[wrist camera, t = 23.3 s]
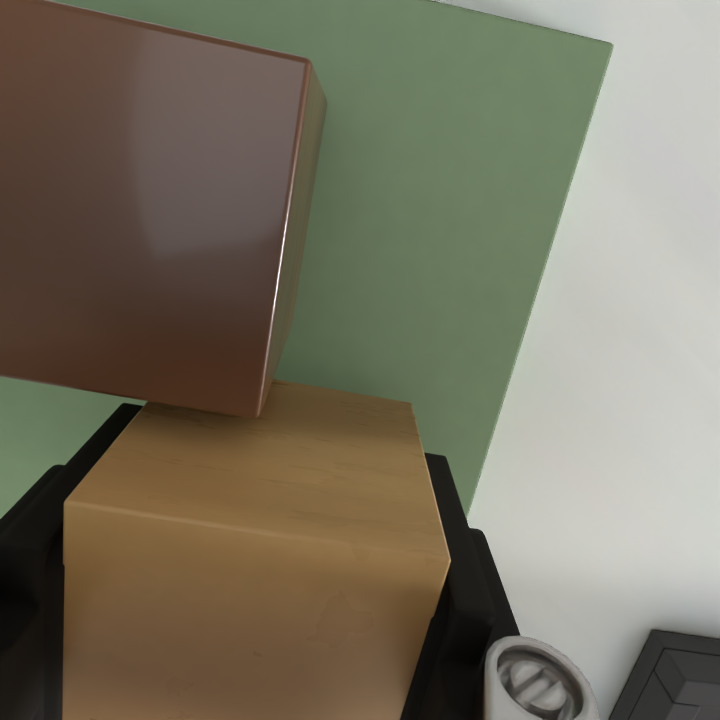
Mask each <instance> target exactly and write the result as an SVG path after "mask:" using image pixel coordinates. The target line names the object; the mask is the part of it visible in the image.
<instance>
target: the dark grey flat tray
mask: <svg viewBox="0 0 720 720" xmlns="http://www.w3.org/2000/svg"><path fill="white" fill-rule="evenodd" d="M609 720H720V640H718V639H711V638H704V637H697V636H690V635H683V634H676V633H670V632H663V631H656V630H653V631H652V633H651V635H650V637H649V639H648V641H647V643H646V645H645V647H644V649H643V651H642V653H641V655H640V658H639V660H638V662H637V664H636V666H635V668H634V670H633V672H632V674H631V676H630V678H629V680H628V682H627V684H626V686H625V688H624V690H623V692H622V695H621V697H620V699H619V701H618V703H617V705H616V707H615V709H614V711H613V713H612V715H611V717H610V719H609Z"/></svg>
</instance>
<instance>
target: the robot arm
mask: <svg viewBox="0 0 720 720" xmlns="http://www.w3.org/2000/svg"><path fill="white" fill-rule="evenodd" d="M142 407H143V406H141V405H135V404H129V403H122V404H121V405H120V406H119V407H118V408H117V409H116V410H115V411H114V413H113V414H112V415H111V416H110V417H109V418H108V419H107V420H106V421H105V422H104V423H103V424H102V426H101V427H100V428H99V429H98V430H97V431H96V432H95V433H94V434H93V435H92V436H91V437H90V439H89V440H88V441H87V442H86V443H85V444H84V445H83V446H82V447H81V448H80V449H79V450H78V452H77V453H76V454H75V455H74V456H73V457H72V458H71V459H70V460H69V461H68V462H67V463H66V464H65V465H60V464H58V465H54V466H52V467H51V468H50V469H48V470H47V471H46V472H45V473H44V474H43V476H42V477H41V478H40V479H39V480H38V481H37V482H36V483H35V484H34V485H33V486H32V487H31V488H30V489H29V490H28V491H27V492H26V493H25V494H24V495H23V496H22V497H21V498H20V499H19V500H18V501H17V502H16V504H15V505H14V506H13V507H12V508H11V509H10V510H9V511H8V512H7V513H6V514H5V515H4V516H3V517H2V518H1V519H0V720H62V693H63V637H64V581H65V566H64V564H63V518H64V502H65V500H66V499H67V498H68V496H69V495H70V494H71V493H72V492H73V490H74V489H75V488H76V487H77V486H78V484H79V483H80V482H81V481H82V480H83V478H84V477H85V476H86V475H87V474H88V472H89V471H90V470H91V469H92V467H93V466H94V465H95V464H96V463H97V461H98V460H99V459H100V458H101V457H102V455H103V454H104V453H105V452H106V451H107V449H108V448H109V447H110V446H111V445H112V443H113V442H114V441H115V440H116V439H117V437H118V436H119V435H120V434H121V433H122V431H123V430H124V429H125V428H126V426H127V425H128V424H129V423H130V422H131V420H132V419H133V418H134V417H135V416H136V414H137V413H138V412H139V411H140V410H141V408H142ZM424 455H425V459H426V463H427V467H428V471H429V475H430V479H431V483H432V486H433V490H434V494H435V498H436V502H437V506H438V510H439V514H440V518H441V522H442V526H443V530H444V534H445V538H446V542H447V546H448V550H449V554H450V558H451V562H450V566H449V569H448V572H447V575H446V579H445V582H444V585H443V588H442V592H441V595H440V598H439V601H438V604H437V608H436V611H435V614H434V616H433V617H432V618H431V620H430V623H429V627H428V630H427V633H426V636H425V640H424V643H423V646H422V649H421V653H420V656H419V659H418V662H417V666H416V669H415V672H414V675H413V679H412V682H411V685H410V688H409V692H408V695H407V698H406V701H405V705H404V708H403V711H402V714H401V718H400V720H600V718H599V713H598V709H597V704H596V700H595V697H594V694H593V692H592V689H591V686H590V684H589V682H588V681H587V679H586V678H585V676H584V675H583V674H582V672H581V671H580V669H579V668H578V667H577V666H576V665H575V664H574V663H573V662H572V661H571V660H570V659H569V658H568V657H567V656H565V655H564V654H562V653H561V652H559V651H558V650H556V649H555V648H553V647H552V646H550V645H548V644H546V643H543V642H541V641H539V640H536V639H533V638H528V637H523V636H520V633H519V630H518V627H517V624H516V622H515V619H514V616H513V613H512V610H511V608H510V605H509V602H508V599H507V596H506V594H505V591H504V588H503V585H502V582H501V580H500V577H499V574H498V571H497V568H496V566H495V563H494V560H493V557H492V554H491V552H490V549H489V546H488V543H487V540H486V538H485V535H484V534H483V532H482V531H481V530H479V529H473V528H469V526H468V523H467V520H466V517H465V514H464V511H463V508H462V505H461V501H460V498H459V495H458V492H457V489H456V486H455V483H454V480H453V477H452V473H451V470H450V467H449V464H448V461H447V458H446V456H443V455H437V454H431V453H425V452H424Z"/></svg>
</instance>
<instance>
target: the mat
mask: <svg viewBox="0 0 720 720" xmlns="http://www.w3.org/2000/svg"><path fill="white" fill-rule="evenodd" d="M51 1H56V2H60V3H65V4H69V5H74V6H78V7H83V8H88V9H92V10H97V11H101V12H106V13H110V14H115V15H119V16H124V17H128V18H133V19H137V20H142V21H146V22H151V23H155V24H160V25H164V26H169V27H173V28H178V29H182V30H187V31H191V32H196V33H200V34H205V35H209V36H214V37H218V38H223V39H227V40H232V41H236V42H241V43H245V44H250V45H254V46H259V47H263V48H268V49H273V50H277V51H282V52H286V53H291V54H295V55H300V56H304V57H307V58H308V59H309V60H311V62H312V64H313V67H314V69H315V72H316V74H317V77H318V79H319V82H320V84H321V87H322V89H323V92H324V94H325V96H326V99H327V108H326V115H325V121H324V127H323V133H322V140H321V146H320V152H319V159H318V165H317V171H316V177H315V184H314V190H313V196H312V202H311V209H310V215H309V221H308V227H307V234H306V240H305V246H304V252H303V259H302V265H301V271H300V277H299V284H298V290H297V296H296V302H295V309H294V315H293V321H292V326H291V329H290V332H289V334H288V337H287V340H286V343H285V346H284V349H283V352H282V355H281V358H280V360H279V363H278V366H277V369H276V372H275V375H274V378H273V379H276V380H282V381H288V382H294V383H300V384H305V385H311V386H317V387H323V388H328V389H334V390H340V391H346V392H351V393H357V394H363V395H369V396H375V397H380V398H386V399H392V400H398V401H403V402H409V403H411V404H412V407H413V411H414V415H415V419H416V423H417V427H418V431H419V435H420V439H421V443H422V447H423V451H424V452H425V453H431V454H437V455H443V456H446V458H447V461H448V464H449V467H450V470H451V473H452V477H453V480H454V483H455V486H456V489H457V492H458V495H459V498H460V501H461V505H462V508H463V511H464V514H465V517H466V520H467V516H468V513H469V510H470V507H471V504H472V500H473V497H474V494H475V491H476V488H477V484H478V481H479V478H480V475H481V471H482V468H483V465H484V462H485V459H486V455H487V452H488V449H489V446H490V442H491V439H492V436H493V433H494V430H495V426H496V423H497V420H498V417H499V414H500V410H501V407H502V404H503V401H504V397H505V394H506V391H507V388H508V385H509V381H510V378H511V375H512V372H513V369H514V365H515V362H516V359H517V356H518V352H519V349H520V346H521V343H522V340H523V336H524V333H525V330H526V327H527V324H528V320H529V317H530V314H531V311H532V307H533V304H534V301H535V298H536V295H537V291H538V288H539V285H540V282H541V279H542V275H543V272H544V269H545V266H546V262H547V259H548V256H549V253H550V250H551V246H552V243H553V240H554V237H555V234H556V230H557V227H558V224H559V221H560V217H561V214H562V211H563V208H564V205H565V201H566V198H567V195H568V192H569V188H570V185H571V182H572V179H573V176H574V172H575V169H576V166H577V163H578V160H579V156H580V153H581V150H582V147H583V143H584V140H585V137H586V134H587V131H588V127H589V124H590V121H591V118H592V115H593V111H594V108H595V105H596V102H597V98H598V95H599V92H600V89H601V86H602V82H603V79H604V76H605V73H606V70H607V66H608V63H609V60H610V57H611V53H612V50H613V44H612V43H609V42H605V41H601V40H597V39H592V38H588V37H584V36H580V35H575V34H571V33H567V32H563V31H558V30H554V29H550V28H546V27H541V26H537V25H533V24H529V23H524V22H520V21H516V20H512V19H507V18H503V17H499V16H495V15H490V14H486V13H482V12H478V11H473V10H469V9H465V8H461V7H456V6H452V5H448V4H444V3H439V2H435V1H431V0H51ZM146 402H147V401H144V400H138V399H132V398H126V397H120V396H114V395H108V394H102V393H96V392H90V391H84V390H78V389H72V388H66V387H60V386H54V385H48V384H42V383H36V382H30V381H24V380H18V379H12V378H6V377H0V519H1V518H2V517H3V516H4V515H5V514H6V513H7V512H8V511H9V510H10V509H11V508H12V507H13V506H14V505H15V504H16V502H17V501H18V500H19V499H20V498H21V497H22V496H23V495H24V494H25V493H26V492H27V491H28V490H29V489H30V488H31V487H32V486H33V485H34V484H35V483H36V482H37V481H38V480H39V479H40V478H41V477H42V476H43V474H44V473H45V472H46V471H47V470H48V469H50V468H51V467H52V466H54V465H58V464H60V465H65V464H66V463H67V462H68V461H69V460H70V459H71V458H72V457H73V456H74V455H75V454H76V453H77V452H78V450H79V449H80V448H81V447H82V446H83V445H84V444H85V443H86V442H87V441H88V440H89V439H90V437H91V436H92V435H93V434H94V433H95V432H96V431H97V430H98V429H99V428H100V427H101V426H102V424H103V423H104V422H105V421H106V420H107V419H108V418H109V417H110V416H111V415H112V414H113V413H114V411H115V410H116V409H117V408H118V407H119V406H120V405H121V404H122V403H129V404H135V405H141V406H144V405H145V404H146Z"/></svg>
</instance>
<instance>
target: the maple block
mask: <svg viewBox="0 0 720 720" xmlns="http://www.w3.org/2000/svg"><path fill="white" fill-rule="evenodd" d="M450 562H451V558H450V554H449V550H448V546H447V542H446V538H445V534H444V530H443V526H442V522H441V518H440V514H439V510H438V506H437V502H436V498H435V494H434V490H433V486H432V483H431V479H430V475H429V471H428V467H427V463H426V459H425V455H424V451H423V447H422V443H421V439H420V435H419V431H418V427H417V423H416V419H415V415H414V411H413V407H412V404H411V403H409V402H403V401H398V400H392V399H386V398H380V397H375V396H369V395H363V394H357V393H351V392H346V391H340V390H334V389H328V388H323V387H317V386H311V385H305V384H300V383H294V382H288V381H282V380H276V379H273V381H272V384H271V386H270V389H269V392H268V395H267V398H266V401H265V404H264V407H263V409H262V412H261V415H260V416H259V417H258V418H255V419H252V418H246V417H240V416H234V415H228V414H222V413H216V412H210V411H204V410H198V409H192V408H186V407H180V406H174V405H168V404H162V403H156V402H150V401H147V402H146V404H145V405H144V406H143V407H142V408H141V410H140V411H139V412H138V413H137V414H136V416H135V417H134V418H133V419H132V420H131V422H130V423H129V424H128V425H127V426H126V428H125V429H124V430H123V431H122V433H121V434H120V435H119V436H118V437H117V439H116V440H115V441H114V442H113V443H112V445H111V446H110V447H109V448H108V449H107V451H106V452H105V453H104V454H103V455H102V457H101V458H100V459H99V460H98V461H97V463H96V464H95V465H94V466H93V467H92V469H91V470H90V471H89V472H88V474H87V475H86V476H85V477H84V478H83V480H82V481H81V482H80V483H79V484H78V486H77V487H76V488H75V489H74V490H73V492H72V493H71V494H70V495H69V496H68V498H67V499H66V500H65V502H64V518H63V564H64V566H65V581H64V637H63V693H62V720H400V718H401V714H402V711H403V708H404V705H405V701H406V698H407V695H408V692H409V688H410V685H411V682H412V679H413V675H414V672H415V669H416V666H417V662H418V659H419V656H420V653H421V649H422V646H423V643H424V640H425V636H426V633H427V630H428V627H429V623H430V620H431V618H432V617H433V616H434V614H435V611H436V608H437V604H438V601H439V598H440V595H441V592H442V588H443V585H444V582H445V579H446V575H447V572H448V569H449V566H450Z"/></svg>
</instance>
